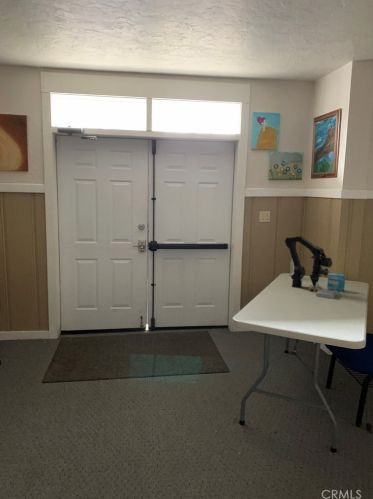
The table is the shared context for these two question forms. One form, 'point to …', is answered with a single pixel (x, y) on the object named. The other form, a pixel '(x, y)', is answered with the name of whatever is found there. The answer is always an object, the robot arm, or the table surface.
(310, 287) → the brown cardboard box
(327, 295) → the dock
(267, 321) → the table surface
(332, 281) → the data package
